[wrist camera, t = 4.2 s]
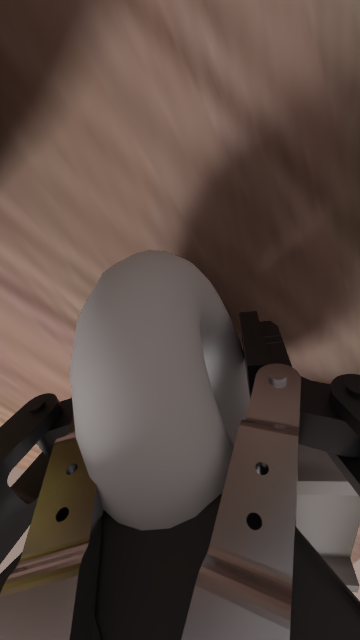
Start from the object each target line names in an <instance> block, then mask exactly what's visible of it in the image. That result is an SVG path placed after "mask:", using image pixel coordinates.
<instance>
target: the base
mask: <svg viewBox="0 0 360 640" xmlns="http://www.w3.org/2000/svg"><path fill="white" fill-rule="evenodd" d="M359 524H360V497H359V495H358V494H357V493H356V491H355V490H354V489H353V487H352V486H351V485H350V483H349V482H348V481H347V479H346V478H345V477H344V475H343V474H342V473H341V471H340V470H339V469H338V467H337V466H336V465H335V464H334V462H333V461H332V460H331V458H330V457H329V455H328V454H327V452H325V451H322V450H318V449H314V448H311V447H307V446H303V445H299V460H298V486H297V514H296V527H297V528H298V529H299V531H300V532H301V533H302V534H303V535H304V536H305V538H306V539H307V540H308V541H309V542H310V543H311V545H312V546H313V547H314V548H315V549H316V551H317V552H318V553H319V554H320V555H321V556H322V558H323V559H324V560H325V561H326V562H327V563H328V565H329V566H330V567H331V568H332V569H333V571H334V572H335V573H336V574H337V575H338V576H339V578H340V579H341V580H342V581H343V582H344V583H345V585H346V586H347V587H348V588H349V589H350V590H351V592H357V591H358V589H359V583H358V580H357V577H356V574H355V571H354V568H353V565H352V562H351V559H350V557H351V553H352V549H353V546H354V542H355V538H356V535H357V531H358V527H359Z"/></svg>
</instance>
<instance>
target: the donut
mask: <svg viewBox="0 0 360 640" xmlns="http://www.w3.org/2000/svg"><path fill="white" fill-rule="evenodd" d="M70 383H71V394H72V404H73V414H74V424H75V434H76V440H77V442H78V445H79V448H80V451H81V454H82V457H83V460H84V463H85V465H86V468H87V471H88V474H89V477H90V478H91V479H92V480H93V481H94V483H95V484H96V486H97V489H98V492H99V496H100V499H101V502H102V506H103V510H104V511H105V512H106V513H108V514H109V515H110V516H111V517H112V518H113V519H114V520H115V521H117V522H118V523H120V524H123V525H126V526H129V527H133V528H136V529H139V530H142V531H143V530H156V529H169V528H172V527H174V526H176V525H178V524H180V523H183V522H185V521H187V520H189V519H191V518H194V517H196V516H197V515H198V514H199V513H200V512H201V511H202V510H203V509H204V508H205V507H206V506H207V505H208V504H210V503H211V502H212V501H213V500H215V499H216V498H217V497H218V495H221V494H222V492H223V489H224V485H225V481H226V477H227V473H228V469H229V465H230V461H231V456H232V452H233V448H234V444H235V440H236V436H237V432H238V428H239V425H240V422H241V420H242V419H244V420H245V419H246V416H247V412H248V407H249V403H250V395H249V388H248V380H247V373H246V366H245V359H244V352H243V349H242V346H241V343H240V341H239V338H238V336H237V333H236V331H235V328H234V326H233V324H232V321H231V319H230V316H229V314H228V312H227V310H226V308H225V306H224V304H223V302H222V300H221V298H220V296H219V295H218V293H217V292H216V290H215V288H214V287H213V285H212V284H211V282H210V281H209V280H208V279H207V278H206V277H205V275H204V274H203V273H202V272H201V271H200V270H199V269H198V268H197V267H196V266H195V265H194V264H193V263H192V262H190V261H188V260H186V259H183V258H181V257H179V256H176V255H173V254H171V253H168V252H165V251H155V250H148V251H144V252H140V253H137V254H134V255H132V256H130V257H128V258H126V259H124V260H122V261H120V262H118V263H116V264H115V265H113V266H112V267H111V268H109V269H108V270H106V271H105V272H104V273H103V274H102V275H101V277H100V279H99V280H98V282H97V283H96V285H95V287H94V288H93V290H92V292H91V294H90V296H89V297H88V299H87V301H86V303H85V305H84V307H83V308H82V310H81V312H80V314H79V316H78V319H77V326H76V332H75V339H74V345H73V352H72V358H71V364H70Z"/></svg>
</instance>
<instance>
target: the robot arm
mask: <svg viewBox="0 0 360 640" xmlns="http://www.w3.org/2000/svg"><path fill="white" fill-rule="evenodd" d="M239 314H240V324H241V333H242V342H243V351H244V359H245V366H246V373H247V380H248V388H249V395H250V403H249V407H248V412H247V416H246V419H245V420H244V419H242V420H241V422H240V425H239V428H238V432H237V436H236V440H235V444H234V448H233V452H232V456H231V461H230V465H229V469H228V473H227V477H226V481H225V485H224V489H223V492H222V494H221V495H218V497H217V498H216V499H215V500H213V501H212V502H211V503H210V504H208V505H207V506H206V507H205V508H204V509H203V510H202V511H201V512H200V513H199V514H198V515H197V516H196V517H194V518H191V519H189V520H187V521H185V522H183V523H180V524H178V525H176V526H174V527H172V528H169V529H156V530H143V531H142V530H139V529H136V528H133V527H129V526H126V525H123V524H120V523H118V522H117V521H115V520H114V519H113V518H112V517H111V516H110V515H109V514H108V513H106V512H105V511H104V510H103V506H102V502H101V499H100V496H99V492H98V489H97V486H96V484H95V483H94V481H93V480H92V479H91V478H90V477H89V474H88V471H87V468H86V465H85V463H84V460H83V457H82V454H81V451H80V448H79V445H78V442H77V440H76V434H75V424H74V414H73V404H72V398H71V399H67V400H64V401H61V402H59V400H58V399H57V397H56V396H55V395H54V394H51V393H47V394H42V395H39V396H37V397H35V398H33V399H32V400H30V401H29V402H28V403H26V404H25V405H24V406H23V407H22V408H21V409H20V410H19V411H18V412H16V413H15V414H14V415H13V416H12V417H11V418H10V419H9V420H8V421H7V422H5V423H4V424H3V425H2V426H1V427H0V564H1V562H2V561H3V560H4V559H5V557H6V556H7V555H8V553H9V552H10V550H11V549H12V548H13V547H14V545H15V544H16V543H17V541H18V540H19V539H20V537H21V536H22V535H23V533H24V532H25V531H26V529H27V528H28V526H29V525H30V524H31V525H30V529H29V532H28V535H27V539H26V542H25V545H24V549H23V552H22V553H21V554H20V555H19V556H18V557H17V558H16V559H15V560H14V561H13V562H12V563H11V564H10V565H9V566H8V567H7V568H6V569H5V570H4V571H3V572H2V573H1V574H0V640H360V601H359V600H358V599H357V598H356V596H354V594H353V593H352V592H351V590H350V589H349V588H348V587H347V586H346V585H345V583H344V582H343V581H342V580H341V579H340V578H339V576H338V575H337V574H336V573H335V572H334V571H333V569H332V568H331V567H330V566H329V565H328V563H327V562H326V561H325V560H324V559H323V558H322V556H321V555H320V554H319V553H318V552H317V551H316V549H315V548H314V547H313V546H312V545H311V543H310V542H309V541H308V540H307V539H306V538H305V536H304V535H303V534H302V533H301V532H300V531H299V529H298V528H297V527H296V514H297V486H298V460H299V445H303V446H307V447H311V448H314V449H318V450H322V451H325V452H327V454H328V455H329V457H330V458H331V460H332V461H333V462H334V464H335V465H336V466H337V467H338V469H339V470H340V471H341V473H342V474H343V475H344V477H345V478H346V479H347V481H348V482H349V483H350V485H351V486H352V487H353V489H354V490H355V491H356V493H357V494H358V495H359V497H360V375H357V374H345V375H341V376H338V377H336V378H335V379H334V380H333V381H332V383H331V384H326V383H320V382H315V381H311V380H308V379H305V378H303V377H301V376H300V374H299V373H298V372H297V371H296V370H295V369H294V368H292V365H291V362H290V360H289V357H288V354H287V351H286V348H285V346H284V343H283V340H282V337H281V334H280V332H279V329H278V327H277V326H276V325H275V324H274V323H273V322H271V321H263V322H259V319H258V315H257V312H256V311H251V312H242V313H239ZM35 444H37V445H38V446H39V448H40V449H41V450H42V453H41V454H40V455H39V456H38V457H37V458H36V460H35V461H34V462H33V463H32V464H31V465H30V466H29V467H28V469H27V470H26V471H25V472H24V473H23V474H22V475H21V476H20V478H19V479H18V480H17V481H16V482H15V483H14V484H13V485H12V486H11V487H9V486H8V484H7V478H8V475H9V473H10V472H11V470H12V469H13V468H14V467H15V466H16V465H17V463H18V462H19V461H20V460H21V459H22V458H23V457H24V456H25V455H26V454H27V453H28V452H29V451H30V449H31V448H32V447H33V446H34V445H35Z"/></svg>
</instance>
